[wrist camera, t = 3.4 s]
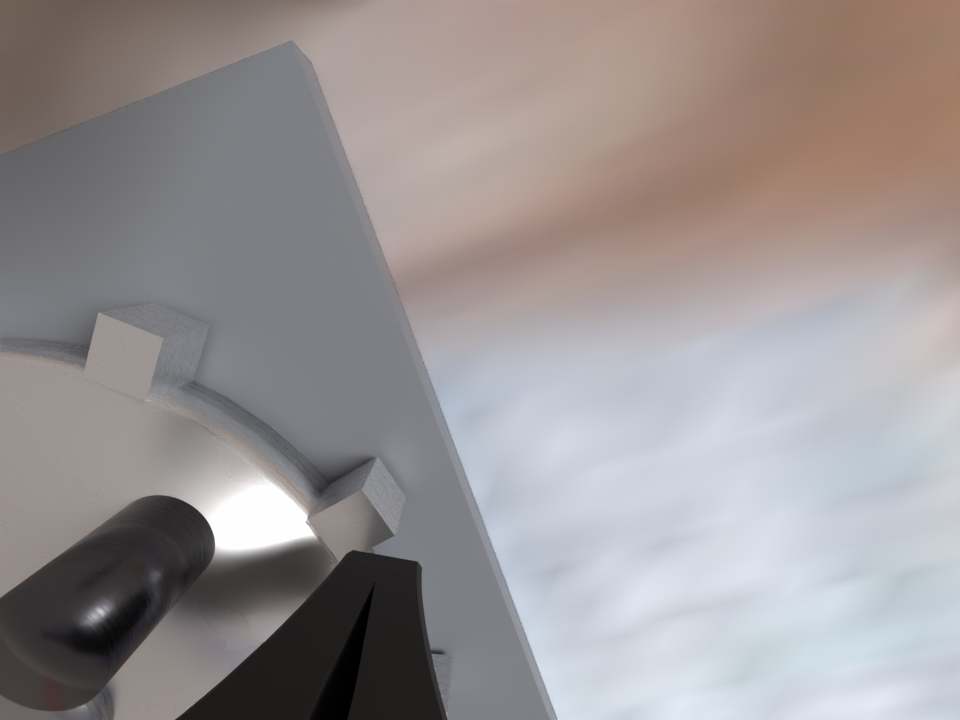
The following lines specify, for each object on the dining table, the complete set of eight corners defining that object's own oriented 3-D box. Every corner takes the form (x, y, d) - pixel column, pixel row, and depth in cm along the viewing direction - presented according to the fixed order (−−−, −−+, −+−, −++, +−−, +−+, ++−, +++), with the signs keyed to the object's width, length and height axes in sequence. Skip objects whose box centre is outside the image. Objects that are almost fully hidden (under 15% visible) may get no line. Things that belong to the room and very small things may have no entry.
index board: (587, 800, 15) (600, 866, 13) (-66, 963, 16) (-123, 1037, 15) (310, 61, 10) (278, 25, 8) (-571, 403, 12) (-733, 427, 10)
